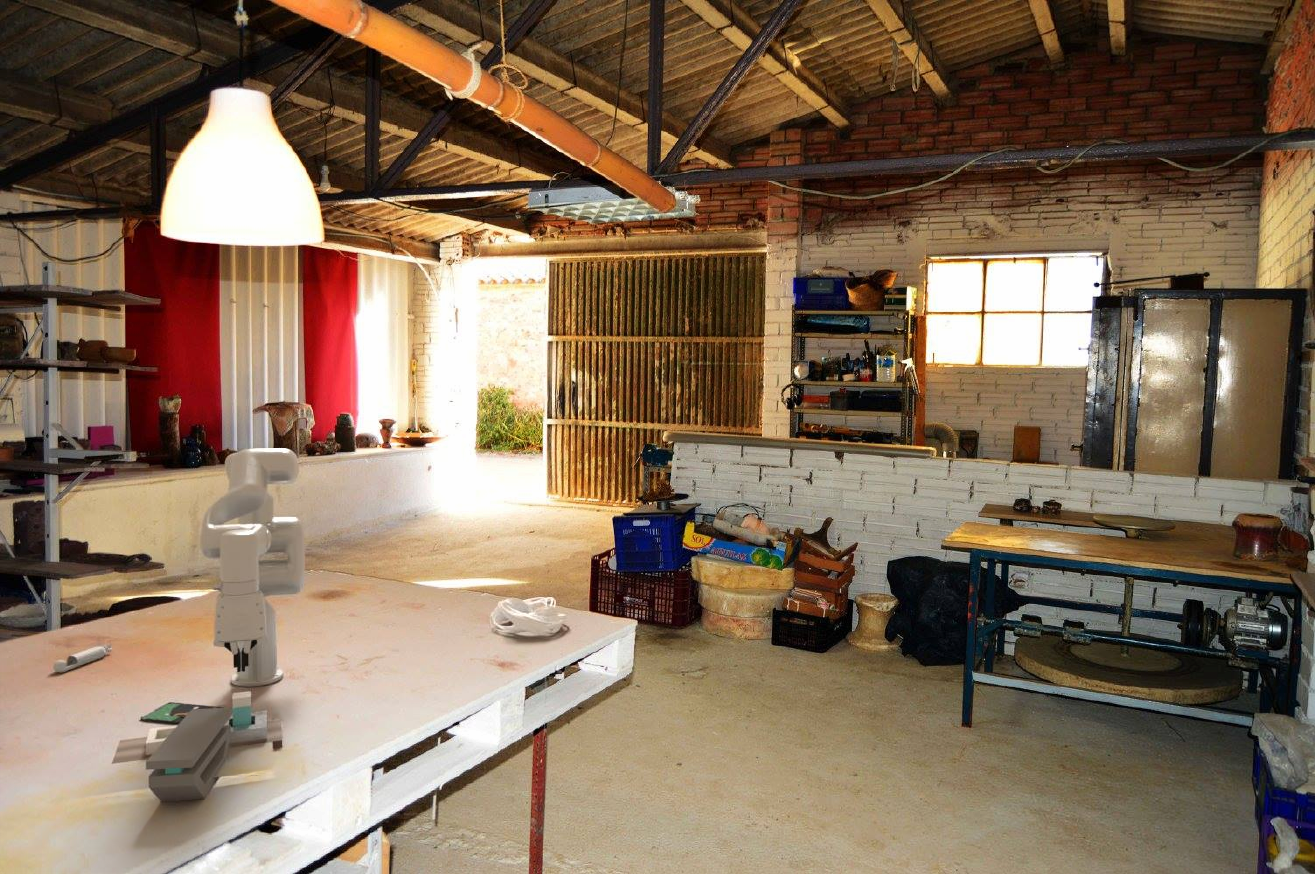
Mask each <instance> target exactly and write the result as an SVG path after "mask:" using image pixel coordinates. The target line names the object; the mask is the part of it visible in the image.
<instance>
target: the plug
mask: <svg viewBox="0 0 1315 874" xmlns="http://www.w3.org/2000/svg"><path fill="white" fill-rule="evenodd" d="M231 700H232V715H233V727H238V726H246V725H251V712H252V692H251V690H250V691H241V692H233V693H232V699H231Z"/></svg>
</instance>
